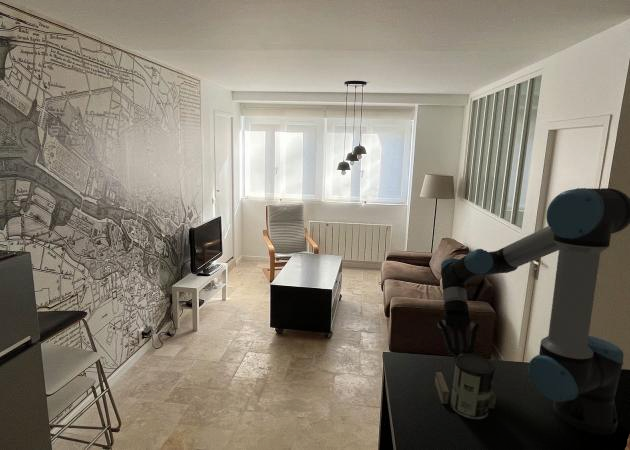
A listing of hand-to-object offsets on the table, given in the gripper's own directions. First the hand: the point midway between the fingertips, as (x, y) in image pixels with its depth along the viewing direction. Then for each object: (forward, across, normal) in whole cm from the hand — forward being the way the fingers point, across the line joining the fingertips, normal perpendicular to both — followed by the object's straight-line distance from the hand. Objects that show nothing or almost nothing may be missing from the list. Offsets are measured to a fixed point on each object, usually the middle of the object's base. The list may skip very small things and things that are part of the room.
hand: (463, 377), depth 121 cm
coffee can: (+9, -1, 0) cm, 9 cm away
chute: (+4, -1, -4) cm, 6 cm away
